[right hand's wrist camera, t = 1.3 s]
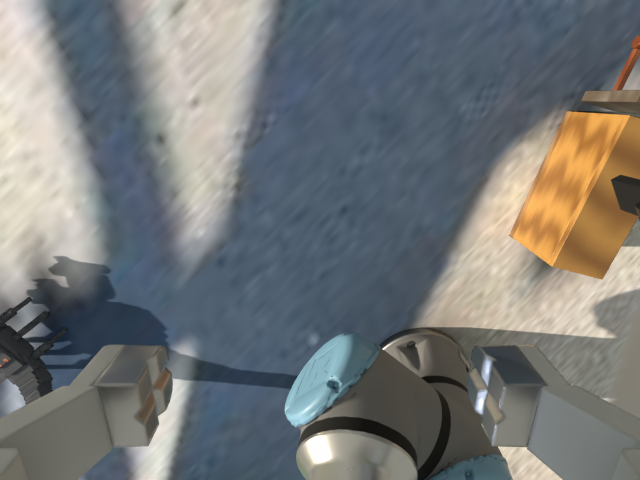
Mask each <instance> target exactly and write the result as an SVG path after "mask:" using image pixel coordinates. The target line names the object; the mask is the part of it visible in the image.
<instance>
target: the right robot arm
mask: <svg viewBox="0 0 640 480" xmlns="http://www.w3.org/2000/svg"><path fill="white" fill-rule="evenodd" d="M168 360H169V356H168V351H167V348H166V347H165V346H159V345H106V346H103V347H102V349H101V350H100V351H99V352H98V353H97V354H96V355H95V357H94V358H93V359H92V360H91V361H90V362H89V364H88V365H87V366H86V367H85V368H84V369H83V370H82V372H81V373H80V374H79V375H78V376H77V377H76V379H75V380H74V381H73V382H72V383H71V384H70V385H69V386H62V387H60V388H58V389H56V390H54V391H52V392H50V393H48V394H47V395H45V396H43V397H41V398H39V399H37V400H35V401H33V402H31V403H29V404H27V405H25V406H23V407H21V408H20V409H18V410H16V411H14V412H12V413H10V414H8V415H6V416H4V417H2V418H0V480H77V479H78V478H80V477H81V476H82V475H83V474H84V473H85V472H87V471H88V470H89V469H90V468H91V467H92V466H94V465H95V464H96V463H97V462H98V461H99V460H101V459H102V458H103V457H104V456H105V455H106V454H108V453H109V452H110V451H111V450H112V449H113V448H112V447H135V446H148V445H149V443H150V441H151V439H152V437H153V435H154V433H155V431H156V429H157V427H158V425H159V421H158V416H159V415H160V414H161V413H163V412H164V411H165V410H166V409H167V407H168V404H169V402H170V399H171V394H172V384H173V381H172V374H171V372H170V371H169V370H168V369H167V368H166V367H165V366H166V364H167V362H168ZM471 360H472V362H473V364H474V366H475V367H474V368H473V369H472V370H471V371H470V372H469V374H468V382H467V386H468V395H469V399H470V402H471V404H472V407H473V409H474V410H475V411H476V412H477V413H479V414H480V415H481V416H482V421H481V425H482V427H483V429H484V431H485V433H486V435H487V437H488V439H489V441H490V443H491V445H492V446H505V447H528V448H527V449H528V450H529V451H530V452H531V453H533V454H534V455H535V456H536V457H537V458H538V459H540V460H541V461H542V462H543V463H544V464H545V465H547V466H548V467H549V468H550V469H551V470H552V471H554V472H555V473H556V474H557V475H558V476H559V477H561V478H562V479H563V480H640V418H638V417H636V416H634V415H632V414H630V413H628V412H626V411H624V410H622V409H620V408H618V407H616V406H615V405H613V404H611V403H609V402H607V401H605V400H603V399H601V398H599V397H597V396H595V395H593V394H591V393H590V392H588V391H586V390H584V389H582V388H580V387H578V386H571V385H570V384H569V383H568V382H567V381H566V380H565V379H564V377H563V376H562V375H561V374H560V373H559V372H558V370H557V369H556V368H555V367H554V366H553V365H552V364H551V362H550V361H549V360H548V359H547V358H546V357H545V355H544V354H543V353H542V352H541V351H540V350H539V349H538V347H536V346H534V345H513V346H475V347H474V349H473V351H472V356H471Z"/></svg>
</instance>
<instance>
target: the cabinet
mask: <svg viewBox="0 0 640 480" xmlns="http://www.w3.org/2000/svg"><path fill="white" fill-rule="evenodd" d="M619 175H624V176H628V177H632V178H636V179H640V118H638V117H634V116H631V115H619V114H602V113H586V112H572V111H566V114H565V116H564V118H563V120H562V122H561V124H560V127H559V129H558V131H557V133H556V135H555V138H554V140H553V142H552V144H551V146H550V148H549V151H548V153H547V155H546V157H545V159H544V161H543V164H542V166H541V168H540V170H539V172H538V174H537V177H536V179H535V181H534V183H533V185H532V187H531V190H530V192H529V194H528V196H527V198H526V200H525V203H524V205H523V207H522V209H521V211H520V214H519V216H518V218H517V220H516V222H515V224H514V227H513V229H512V231H511V233H510V235H509V236H511V237H512V238H514V239H515V240H517V241H518V242H519V243H521V244H522V245H523V246H525V247H526V248H527V249H529V250H530V251H532V252H533V253H534V254H536V255H537V256H538V257H540V258H541V259H542V260H544V261H545V262H547V263H548V264H549V265H551V266H552V267H556V268H560V269H564V270H567V271H571V272H575V273H579V274H583V275H587V276H591V277H594V278H598V279H603V277H604V276H605V274H606V272H607V270H608V269H609V267H610V265H611V263H612V262H613V260H614V258H615V256H616V255H617V253H618V251H619V249H620V248H621V246H622V244H623V242H624V241H625V239H626V237H627V235H628V234H629V232H630V230H631V228H632V227H633V225H634V223H635V221H636V220H637V218H638V216H636V215H634V214H631V213H628V212H625V211H623V210H620V207H619V204H618V201H617V198H616V195H615V192H614V188H613V185H612V182H611V179H613V178H615V177H617V176H619Z"/></svg>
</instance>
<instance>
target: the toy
mask: <svg viewBox="0 0 640 480" xmlns="http://www.w3.org/2000/svg"><path fill="white" fill-rule="evenodd" d="M31 300H32V299H31V298H30V297H28V298H27V299H26V300H24V301H23V302H22V303H20V304H19V305H17V306H16V307H14V308H10V309H8V310H7V311H5V312H4V313H3V314H2V315H0V373H1V375H0V383H2V382H3V381H4V380H6V379H7V378H8V379H9V380H10V381H11V382H12V383H13V384H16V385H17V386H18V387H19V390H20V391H21V393H20V394H22V395H23V397H24V400H25V401H26V403H25V404H26V405H27V404H29V403H31V402H33V401H35V400H37V399H39V398H41V397H43V396H45V395H47V394H48V393H50V392H52V391H53V390H52V387H51V386H52V383H51V381H52V380H53V378H52V377H51V374H50V373H49V372H48V371H47V369H46V368H45V364H44V362H43V361H42V360H41V359H40V358H39V357H40V356H41V355H43V354H44V353H45V352H47V351H48V350H49V349H50V348H52V347H53V346H54V345H53V343H54V342H55V341H57V340H58V339H59V338H60V337H61V336H62V335H63V334H65V333H66V332H67V330H66V329H65V328H64V329H63V330H62V331H60V332H59V333H58V334H57V335H56V336H54V337H53V338H52V339H51V340H50V341H49V340H47V341H46V342H45V343H44V344H42V345H41V346H39V347H38V348H37V349H35V350H34V347H33V346H32V345H31V344H30V343H29V342H28V341H26V340H24V339H23V338H22V336H23V335H25V334H26V333H27V332H29V331H30V330H31V329H32V328H34V327H35V326H36V325H37V324H39V323H40V322H41V321H42V320H44V319H45V318H46V317H48V316H49V314H48V313H47V312H46V311H44V312H43V313H41V314H40V315H39V316H38V317H36V318H35V319H34V320H33V321H31V322H30V323H29V324H27V325H26V326H25V327H23V328H22V329H21V330H20V331H18V332H16V331H15V330H14V329H13V328H11V327H10V326H7V325H6V324H5V322H7V321H8V320H9V319H11V318H12V317H13V316H15V315H16V314H17V311H18V310H19V309H21V308H22V307H24V306H25V305H26V304H28V303H29V302H30V301H31Z"/></svg>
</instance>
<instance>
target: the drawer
mask: <svg viewBox="0 0 640 480" xmlns="http://www.w3.org/2000/svg"><path fill="white" fill-rule="evenodd" d="M631 47H632V48H634V49H633V50H632V52H631V54H630V56H629V58H628V60H627V62H626V64H625V66H624V68H623V70H622V72H621V74H620V76H619V79H618V81H617V83H616V85H615V87H614V89H613V91H586V92H585V94H584V96H583V98H582V101H583V102H586V103H589V104H593V105H596V106H599V107H603V108H606V109H609V110H612V111H616V112H619V113H637V114H640V90H622V89H623V87H624V85H625V83H626V81H627V79H628V77H629V75H630V73H631V71H632V69H633V67H634V65H635V63H636V61H637V59H638V57H639V55H640V35H639V36H637V37H636V38H635V39H634V40H633V42H632V44H631Z"/></svg>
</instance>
